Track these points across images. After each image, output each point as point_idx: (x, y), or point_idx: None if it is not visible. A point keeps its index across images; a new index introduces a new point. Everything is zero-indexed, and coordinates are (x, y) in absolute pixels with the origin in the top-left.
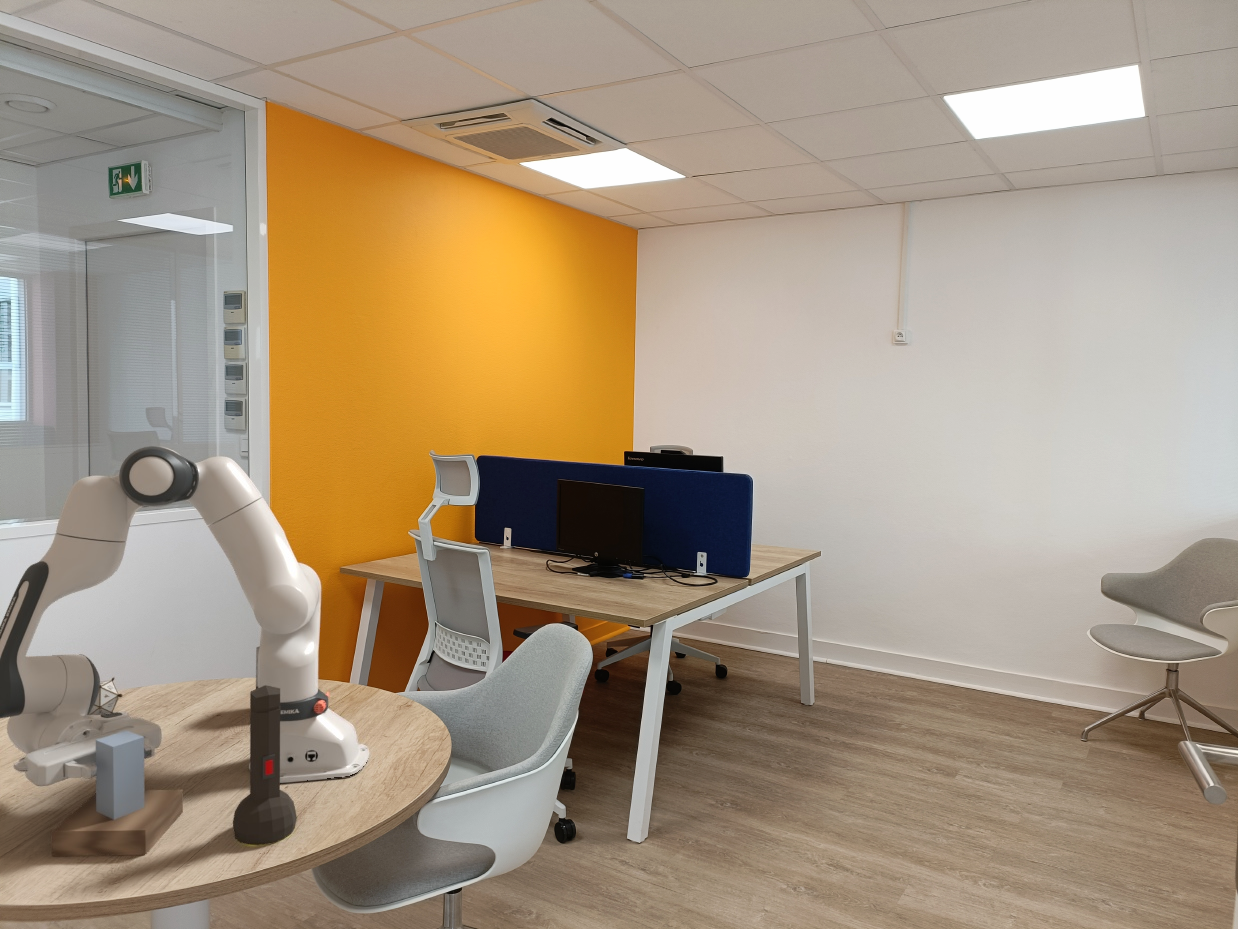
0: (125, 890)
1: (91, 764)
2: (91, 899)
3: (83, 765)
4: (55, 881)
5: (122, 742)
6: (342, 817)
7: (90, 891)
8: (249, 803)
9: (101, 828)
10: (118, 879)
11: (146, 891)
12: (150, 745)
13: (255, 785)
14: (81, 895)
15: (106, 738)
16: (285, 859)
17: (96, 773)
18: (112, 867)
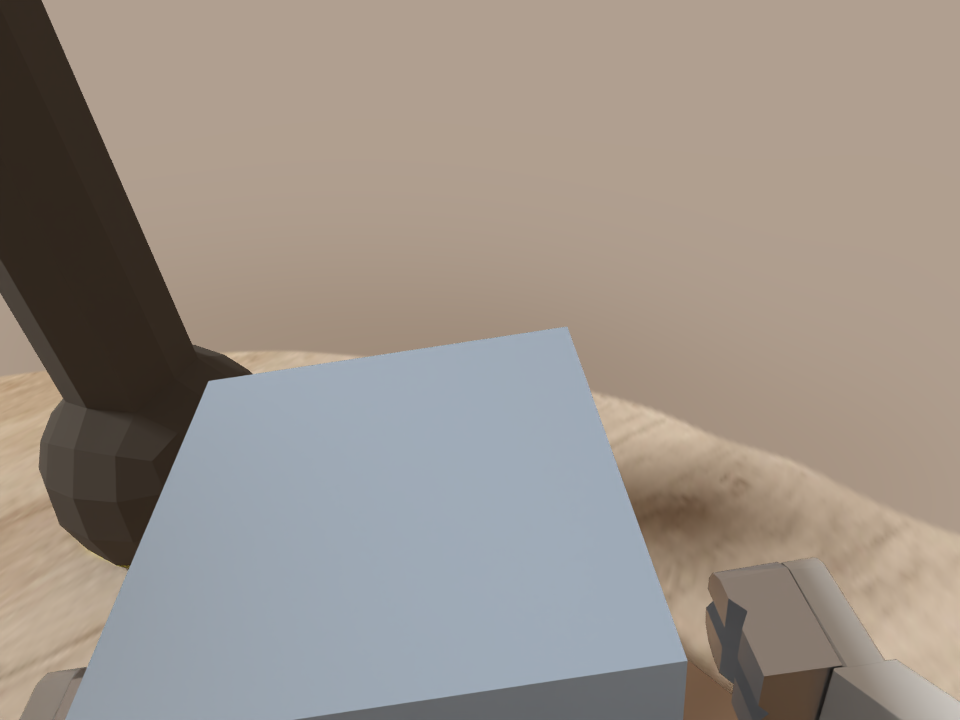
0: (670, 447)
1: (761, 639)
2: (775, 462)
3: (860, 671)
4: (911, 655)
5: (440, 365)
6: (36, 426)
7: (773, 502)
8: (203, 376)
9: (687, 689)
10: (672, 512)
11: (621, 414)
12: (33, 712)
13: (171, 302)
14: (804, 498)
15: (509, 596)
16: (300, 356)
17: (713, 609)
18: (669, 602)
